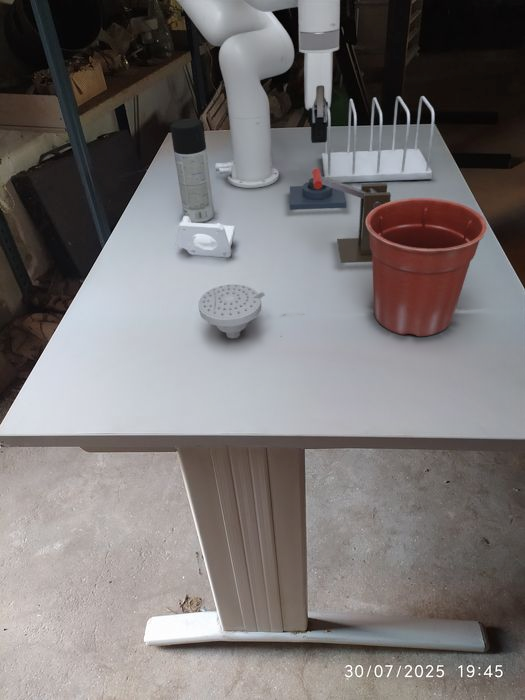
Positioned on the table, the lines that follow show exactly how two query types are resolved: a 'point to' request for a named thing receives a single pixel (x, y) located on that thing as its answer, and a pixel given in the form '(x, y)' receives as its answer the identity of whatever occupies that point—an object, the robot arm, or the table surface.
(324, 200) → the button box
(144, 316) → the table surface
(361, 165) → the file sorter
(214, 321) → the showerhead
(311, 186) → the button
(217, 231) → the mounting bracket
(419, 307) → the flower pot
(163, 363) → the table surface
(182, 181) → the spray can
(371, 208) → the brown lever stand
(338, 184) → the tap lever
